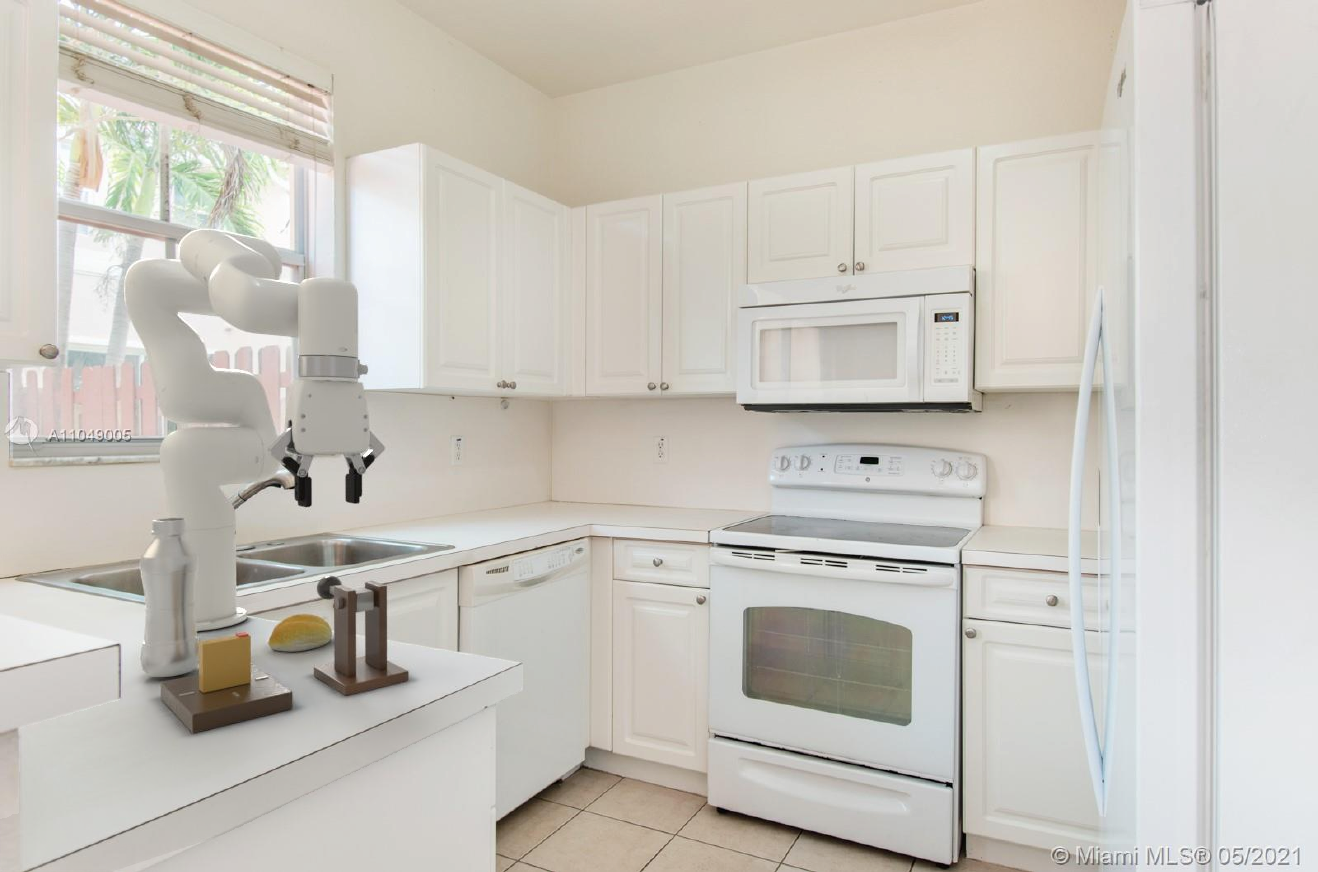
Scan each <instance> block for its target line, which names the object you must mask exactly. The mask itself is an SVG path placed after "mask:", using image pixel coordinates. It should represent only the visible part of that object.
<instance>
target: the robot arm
mask: <svg viewBox="0 0 1318 872" xmlns="http://www.w3.org/2000/svg"><path fill="white" fill-rule="evenodd" d="M177 250H178V251H177V253H178V258H179V259H178V260H177V259H172V258H158V257H150V258H143V259H140V260H137V261H135V262H133V264H131V265H130V266H129V268H128V269H127V271H126V274H125V277H124V283H123V295H124V304H125V308H126V312H127V314H128V317H129V319H130V322H131V324H132V326H133V328H134V330H135V332H136V333H137V336H138V337H139V339H140V341H141V343H142V345H143V348H144V350H145V353H146V356H147V362H148V366H149V370H150V374H151V375H150V376H151V378H152V383H153V388H154V392H155V396H156V400H157V403H158V407H159V410H160V412H161V414H162V416H163V417H164V418H165V420H167V421H169V422H171V423H173V424H179V425H190V426H189V427H183V428H179V429H177V430H174V431H172V432H170V433H169V434H167V435H166V436H165V437H164V438H163V439H162V441H161V443H160V446H159V453H158V454H159V464H160V469H161V474H162V478H163V484H164V490H165V497H166V518H186V529H187V533H185V534H184V535H185V538H186V539H187V540H188V542H189V543H190V544H191V545H192V546H193V548H194V549H195V550H196V552H197V555H198V557H199V565H198V572H197V579H196V586H195V599H194V602H195V608H194V610H195V619H196V628H197V632H202V631H203V632H204V631H210V630H217V629H221V628H226V627H230V626H231V627H232V626H234V625H237V624H240V623H242V622H244V621H245V620H247V618H248V610H247V609H245V608H244V607H239V606H237V515H236V510H235V508H234V505H233V503H232V502H231V500H230V499H229V498H228V497H227V496H226V494H225V493H224V491H222V489H221V487H220V486H227V485H228V486H229V485H242V484H243V485H244V484H255V483H262V482H267V481H269V480H270V479H273V478H274V477H275V476H276V475H277V474H278V471H279V469H280V465H282V466H283V467H284V468H285V469H286V470H287V471H288V472H289V473H290V474H291V476H293V478H294V479H293V480H294V482H293V485H294V491H293V492H294V493H293V494H294V500H295V502H297V505H298V506H299V507H303V508H311V507H312V506H313V499H312V498H313V479H312V477H311V476H309V470H310V467H311V465H312V463H313V460H314V457H315V456H335V455H337V456H338V455H342V456H343V458H344V461H345V463H346V466H347V468H348V473H346V474H345V476H344V477H345V479H344V480H345V481H344V483H345V484H344V485H345V486H344V487H345V488H344V489H345V493H344V494H345V502H346V503H349V504H354V505H357V504H360V502H361V500H360V499H361V497H362V496H363V475H364V474H366V471H367V469H368V468H369V467H370V466H371V465H372V464H373V463H374V462H375V460H377V458H378V457H379V456H381V454H382V453H384V451H385V450H386V446H385V445H384V444H383V443H382V442H381V441H380V440H379V439H378V438H377V436H375V434H374V433H373V431H371V430H370V429H371V428H370V417H369V407H368V401H367V396H366V390H365V386H364V383H363V382H360V381H359V379H360V378H361V376H362V375H364V376H365V375H368V372H369V367H368V365H367V364H362V363H361V360H360V359H359V294H358V289H357V287H356V286H355V285H354V284H353V283H352V282H350V281H348V280H345V279H340V278H334V277H333V278H331V277H311V278H305V279H303V280H302V281H301V282H300V283H296V282H292V281H291V282H290V281H284V280H280V279H281V276H282V272H283V261H282V257H281V255H280V252H279V250H278V249H277V248H276V246H274V245H273V244H272V243H271V242H269V241H268V240H266V239H263V238H260V237H256V236H255V237H254V236H250V235H245V234H242V233H241V234H240V233H236V232H232V231H226V230H220V229H216V228H215V229H214V228H199V229H196V230H195V229H194V230H192V231H190V232H188V233H187V234H186V235H185V236H183V238H182V239H181V240H180V242H179V244H178V249H177ZM179 313H184V314H192V315H200V316H209V317H219V318H220V319H222V320H223V321H225V322H226V323H228V324H229V325H231V326H232V327H234V328H236V329H237V330H240V331H243V332H245V333H250V334H256V335H268V336H280V337H287V338H288V337H289V338H297V372H298V373H297V377H298V378H297V380H291V381H290V385H289V389H288V390H289V391H288V395H287V402H286V409H285V418H284V419H285V420H284V431H283V432H282V433H281V434H280V435H279V436H278V434H277V431H276V427H275V422H274V420H273V415H272V411H271V408H270V404H269V400H268V397H267V393H266V391H265V387H264V386H263V384H262V382H261V381H260V380H259V378H257V376H255V374H253V373H251V372H248V371H246V370H241V369H231V368H230V369H228V368H218V367H215V366H213V365H212V363H211V362H210V359H209V355H208V350H207V346H206V344H205V342H204V340H203V339H202V337H201V336H200V334H199V333H198V332H197V331H196V330H195V329H194V328H193V326H192V325H190V324H189V323H188V322H187V321H186V320H185V319H183V318H182V317H181V316H180V315H179ZM192 425H194V426H192ZM195 425H196V426H195ZM199 425H200V426H199ZM204 425H207V426H204ZM210 425H211V426H210ZM214 425H216V426H214ZM217 425H219V426H217ZM288 453H289V454H292V455H293V454H294V455H296V456H295V458H293V457H292V456H290V455H289V454H288ZM364 453H365V454H364ZM362 454H363V455H362Z"/></svg>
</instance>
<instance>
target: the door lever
mask: <svg viewBox="0 0 1318 872" xmlns="http://www.w3.org/2000/svg"><path fill="white" fill-rule="evenodd" d="M342 583H343V582H342V581H341V579H339V577H337V576H335V575H327V576H324V577H322V578H321V579H320V580H319V581H318V583H317V585H316V593H317V594H318V597H320V598H322V599H323V600H326V601H327V600H328V601H331V600H334V586H338V585H343V584H342ZM352 589H353V588H352ZM353 590H356V613H362V612H365V611H369V610H373V609H374V592H373V591H372V590H369V589H366V588H365V587H359V588H354V589H353Z"/></svg>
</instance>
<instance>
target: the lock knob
mask: <svg viewBox="0 0 1318 872" xmlns="http://www.w3.org/2000/svg"><path fill="white" fill-rule="evenodd" d="M199 641H200V640H199ZM251 664H252V636H251V635H249V633H247V632H246V631H243V632H242V631H241V632H236V633H235V635H230V636H224V637H219V638H218V637H217V638H212V639H206V640H201V641H200V642H199V663H198V675H199V690H200V691H201V692H203V693H205V692H210V691H215V690H219V689H224V688H229V687H233V686H238V685H243V684H247V683H251Z"/></svg>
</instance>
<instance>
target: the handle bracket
mask: <svg viewBox="0 0 1318 872" xmlns="http://www.w3.org/2000/svg"><path fill="white" fill-rule="evenodd" d="M364 588H366V589H369V590H372V591H373V592H374V609H373V610H369V611H364V656H363V655H362V656H358V657H357V612H356V590H353V588H351V587H348V586H345V585H343V584H342V585H338V586H334V599H333V632H334V633H333V649H334V650H333V658H334V659H333V662H330V663H325V664H321V665H316V666H313V676H314V677H315V678H317V679H318V680H320V681H322V682H323V683H325V684H326V685H328V686H329V687H331V688H332V689H334V690H336V691H337V692H339V693H341V694H342V695H344V696H351V695H354V694H359V693H362V692H367V691H370V690H376V689H380V688H384V687H386V686H387V687H388V686H391V685H395V684H399V683H403V682H407V681H409V680H410V679H409V670H407V669H406V668H404V667H401V666H399V665H397V664H395V663H393V662H392V661H389V660H388V585H386V584H383V583H380V582H377V581H374V580H365V582H364Z"/></svg>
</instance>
